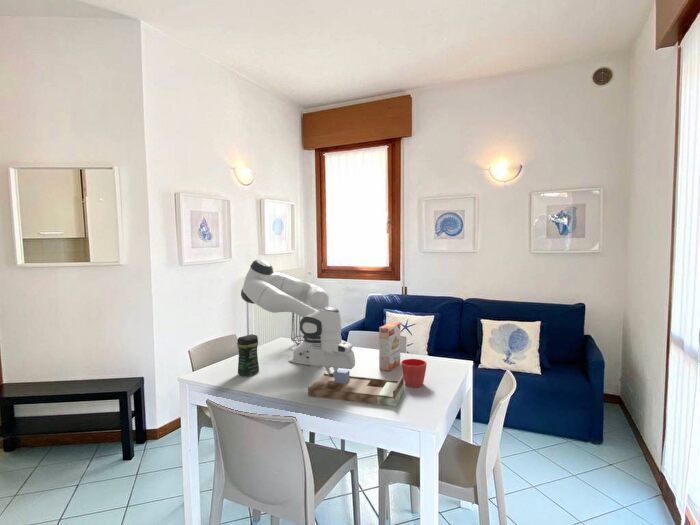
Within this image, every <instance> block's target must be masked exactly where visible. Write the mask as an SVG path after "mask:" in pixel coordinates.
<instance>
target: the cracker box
mask: <svg viewBox="0 0 700 525" xmlns="http://www.w3.org/2000/svg"><path fill="white" fill-rule="evenodd" d="M378 330H379V331H378V332H379V333H378V337H379V338H378V341H379V342H378V343H379V345H378V355H379V357H378V361H379V362H378V366H379V370H381V371H386V372H390V371H392V370H393V369H395V368H396V367H397V366H399V365H400V364H401V323H399V322H393V321H391V322H388V323H387V324H383V325H382V326H379V327H378Z"/></svg>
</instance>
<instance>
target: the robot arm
mask: <svg viewBox="0 0 700 525" xmlns="http://www.w3.org/2000/svg"><path fill="white" fill-rule="evenodd" d="M240 296H241V298H242V300H243V301H245V302H246V303H248V304H252V305H255V304H256V306H258V307H260V308H261V309H263V310H265V311H268V312H270V313H277V314H278V313H294V315H296V314H297V316H298V317H299V316H300V333H302V339H303V340H304V341H301V344H299V345H298V344H297V345H296V347H295V348H294V350H293V353H292V354H293V355H291V357H289V359H288V361H289V362H290V363H295V364H301V365H307V366H316V367H323V368H325V371H326V373H327V374H328V377H334V373H335V372H336V371H337V370H338V369H342V370H352V369H353V368H354V367H355V366H356V358H355V353H354V351H353V344H352V343H350V342H348V341H345V340H343V339H342V335H341V334H342V333H341V331H342V318H341V317H342V316H341V313H340V310H339V309H338V308H336V307H333V306H329V305H330V304H329V303H330V302H329V300H330V297H329V293H328V292H327V291H326V290H325V289H324V288H322V286H319V285H316V284H313V283H311V282H307V281H304V280H301V279H298V278H296V277H293V276H290V275H288V274H285V273H282V272H279V271H274V268H273V265H271V263H269V262H268V261H266V260H264V259H255V260H253V261H252V263H251V265H250V267H249V269H248V271H247V273H246V275H245V278H244V282H243V286H242V289H241V292H240ZM331 368H333V371H331Z"/></svg>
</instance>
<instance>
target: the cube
mask: <svg viewBox="0 0 700 525" xmlns="http://www.w3.org/2000/svg"><path fill="white" fill-rule="evenodd" d="M350 374H351V373H350V369H341V368H338V370H337V371H336V372H335V373H334V382H335V383H344V384H346V383H347V382H348V381H349V380H350V376H351V375H350Z"/></svg>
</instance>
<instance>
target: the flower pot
mask: <svg viewBox="0 0 700 525" xmlns="http://www.w3.org/2000/svg"><path fill="white" fill-rule="evenodd" d="M400 364H401V370H402V376H404V385H405V386H407V387H411V388H420V387H423V385H424V381H425V377H426V371H427V370H426V369H427V366H428V365H427V364H428V363H427V361H425V360H424V359H418V358H408V359H402V360H400Z"/></svg>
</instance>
